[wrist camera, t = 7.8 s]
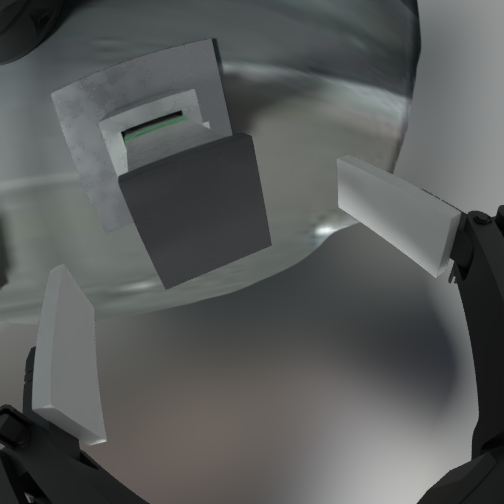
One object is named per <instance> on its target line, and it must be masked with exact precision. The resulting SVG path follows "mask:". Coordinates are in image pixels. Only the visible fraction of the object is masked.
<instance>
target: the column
mask: <svg viewBox="0 0 504 504" xmlns="http://www.w3.org/2000/svg"><path fill="white" fill-rule="evenodd" d="M125 133H126V136H124V140H125V143H126V151H127V165H128V172H127V173H124V174H122V175H120V176H118V184H119V187H120V189H121V192H122V194H123V197H124V199H125V202H126V204H127V206H128V209H129V211H130V213H131V216H132V218H133V220H134V223H135V225H136V227H137V230H138V232H139V234H140V236H141V239H142V241H143V243H144V245H145V247H146V250H147V252H148V254H149V256H150V258H151V260H152V262H153V264H154V267H155V269H156V271H157V273H158V275H159V277H160V279H161V281H162V283H163V285H164V287H165V289H166V290H167V289H169V288H171V287H174V286H176V285H179V284H181V283H183V282H186V281H188V280H190V279H193V278H195V277H198V276H200V275H202V274H205V273H207V272H209V271H212V270H214V269H217V268H219V267H221V266H224V265H226V264H229V263H231V262H233V261H236V260H238V259H240V258H243V257H245V256H248V255H250V254H252V253H255V252H257V251H259V250H262V249H264V248H267V247H269V246H271V245H272V244H271V238H270V232H269V227H268V221H267V215H266V210H265V204H264V199H263V193H262V188H261V182H260V177H259V172H258V166H257V161H256V156H255V150H254V145H253V140H252V136H250V135H247V134H245V133H243V132H242V133H238V134H235V135H231V136H228V137H226V136H224V135H222V134H219V133H217V132H215V131H213V130H211V129H209V128H207V127H205V126H202V125H200V124H198V123H196V122H194V121H191V120H189V119H188V117H186V116H184V115H183V116H180V115H178V114H176V113H171V114H168V115H165V116H162V117H159V118H156V119H153V120H150V121H148V122H145V123H142V124H139V125H137V126H134V127H132V128H129V129H126V130H125Z"/></svg>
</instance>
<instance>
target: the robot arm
mask: <svg viewBox="0 0 504 504" xmlns="http://www.w3.org/2000/svg"><path fill="white" fill-rule="evenodd" d="M63 3H64V0H0V65H4V64H8V63H11V62H13V61H16V60H18V59H20V58H21V57H23V56H25V55H26V54H28V53H29V52H30V51H32V50H33V49H34V48H35V47H36V46H37V45H39V43H40V42H41V41H42V40H43V39H44V38H45V37H46V36H47V35H48V33H49V32H50V31H51V29H52V28H53V26H54V25H55V23H56V21H57V19H58V17H59V15H60V13H61V10H62V7H63ZM337 174H338V203H339V208H341V209H342V210H344V211H345V212H347V213H348V214H350V215H351V216H353V217H354V218H356V219H357V220H359V221H360V222H362V223H363V224H364V225H366V226H367V227H369V228H370V229H372V230H373V231H375V232H376V233H377V234H379V235H380V236H381V237H383V238H384V239H386V240H387V241H388V242H390V243H391V244H393V245H394V246H395V247H397V248H398V249H399V250H401V251H402V252H403V253H405V254H406V255H407V256H409V257H410V258H411V259H413V260H414V261H415V262H416V263H418V264H419V265H420V266H422V267H423V268H424V269H425V270H427V271H428V272H429V273H430V274H432V275H433V276H434V277H435V278H436V277H437V276H439V275H440V274H441V273H443V272H444V271H445V270H446V268H447V265H448V262H449V259H450V258H451V259H452V260H454V264H453V268H452V271H451V274H450V277H449V283H451V281H452V279H453V277H454V276H455V277H456V278H455V281H454V283H457V284H458V288H459V292H460V296H461V299H462V303H463V308H464V312H465V316H466V321H467V326H468V330H469V336H470V341H471V347H472V353H473V359H474V366H475V374H476V382H477V392H478V406H479V419H478V422H477V425H476V427H475V429H474V433H473V437H472V458H471V461H470V462H467V463H465V464H463V465H461V466H459V467H457V468H455V469H453V470H450V471H449V472H448V473H447V474H446V475H445V476H443V477H442V478H441V479H440V480H439V481H438V482H437V483H436V484H435V485H433V486H432V487H431V488H430V489H429V490H428V491H427V492H426V493H425V494H424V496H423V497H422V498H421V499H420V500H419V502H418V503H417V504H504V205H501V206H499V208H498V211H497V215H496V216H495V217H490V216H488V215H487V214H485V213H483V212H480V211H471V212H469V213H468V214H466V213H464V212H462V211H461V210H459V209H457V208H455V207H454V206H452V205H450V204H448V203H447V202H445V201H443V200H440V198H438V197H436V196H433V195H432V194H431V193H429V192H427V191H425V190H423V189H420V188H417V187H415V186H414V185H412V184H410V183H408V182H406V181H404V180H402V179H400V178H398V177H396V176H394V175H392V174H390V173H388V172H386V171H384V170H382V169H379V168H377V167H375V166H373V165H371V164H369V163H366V162H364V161H362V160H360V159H357V158H355V157H353V156H350V155H346V156H342V157H339V158H337ZM25 373H26V375H25V379H24V383H25V385H24V393H23V414H22V413H20V412H19V411H17V410H16V409H15V408H14V407H12V406H11V405H6V404H5V405H3V406H1V407H0V443H1V444H3V445H4V446H6V447H4V448H3V449H2V450H1V449H0V504H149V503H148V502H146V501H145V500H143V499H142V498H141V497H139V496H138V495H136V494H135V493H134V492H132V491H131V490H130V489H128V488H127V487H126V486H124V485H123V484H122V483H120V482H119V481H118V480H117V479H115V478H114V477H113V476H112V475H110V474H109V473H108V472H107V471H106V470H105V469H103V468H102V467H101V466H100V465H99V464H98V463H96V462H95V461H94V460H93V459H92V458H91V457H90V456H89V455H88V454H86V452H84V451H83V450H81V449H80V447H79V440H80V441H82V442H84V443H85V444H87V445H93V444H97V443H101V442H105V441H107V439H106V434H105V429H104V422H103V416H102V409H101V402H100V395H99V386H98V375H97V364H96V351H95V326H94V307H93V306H92V305H91V303H90V302H89V300H88V299H87V297H86V296H85V295H84V293H83V292H82V290H81V289H80V287H79V286H78V284H77V283H76V281H75V280H74V278H73V277H72V275H71V273H70V272H69V270H68V269H67V267H66V265H65V264H64V263H63V264H61V265H59V266H57V267H55V268H53V269H51V270H50V273H49V277H48V281H47V286H46V290H45V295H44V300H43V305H42V311H41V316H40V322H39V329H38V336H37V343H36V346H35V347H33V348H31V350H30V353H29V355H28V358H27V360H26V368H25ZM25 495H26V496H28V497H29V499H30V501H31V503H29V502H28V500H27V498H26V496H25Z"/></svg>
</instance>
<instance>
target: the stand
mask: <svg viewBox="0 0 504 504" xmlns="http://www.w3.org/2000/svg"><path fill="white" fill-rule="evenodd" d="M51 96H52V99H53V103H54V106H55V109H56V112H57V115H58V118H59V121H60V124H61V127H62V130H63V133H64V136H65V139H66V142H67V144H68V147H69V150H70V152H71V155H72V158H73V160H74V163H75V165H76V168H77V170H78V173H79V175H80V178H81V180H82V183H83V185H84V187H85V190H86V192H87V194H88V196H89V199H90V201H91V203H92V205H93V208H94V210H95V212H96V214H97V216H98V218H99V221H100V223H101V225H102V227H103V229H104V231H105V233H106V234H107V233H109V232H111V231H114V230H116V229H118V228H120V227H123V226H125V225H127V224H130V223H132V222H134V220H133V218H132V216H131V213H130V211H129V209H128V206H127V204H126V202H125V199H124V197H123V194H122V192H121V189H120V187H119V184H118V176H120V175H122V174H124V173H127V172H128V165H127V151H126V143H125V140H124V136H126V133H125V130H126V129H129V128H132V127H134V126H137V125H139V124H142V123H145V122H148V121H150V120H153V119H156V118H159V117H162V116H165V115H168V114H171V113H176V114H178V115H180V116H183V115H184V116H186V117H188V119H189V120H191V121H194V122H196V123H198V124H200V125H202V126H205V127H207V128H209V129H211V130H213V131H215V132H217V133H219V134H222V135H224V136H226V137H228V136H231V135H233V134H232V130H231V125H230V121H229V116H228V111H227V107H226V102H225V98H224V93H223V89H222V84H221V80H220V75H219V71H218V66H217V62H216V57H215V53H214V48H213V44H212V39H208V40H203V41H198V42H193V43H189V44H184V45H180V46H176V47H172V48H168V49H165V50H161V51H157V52H154V53H151V54H147V55H144V56H141V57H138V58H135V59H132V60H129V61H126V62H123V63H120V64H117V65H115V66H112V67H109V68H107V69H104V70H102V71H99V72H97V73H94V74H92V75H90V76H87V77H85V78H83V79H80V80H78V81H76V82H74V83H72V84H69V85H67V86H65V87H63V88H61V89H59V90H57V91H55V92H53V93H51Z"/></svg>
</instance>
